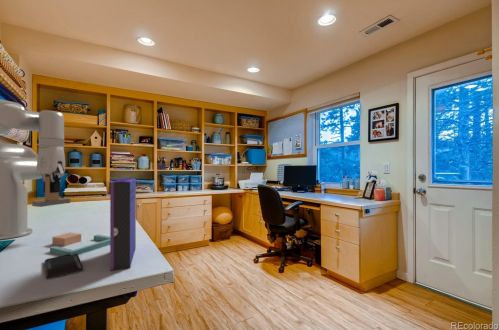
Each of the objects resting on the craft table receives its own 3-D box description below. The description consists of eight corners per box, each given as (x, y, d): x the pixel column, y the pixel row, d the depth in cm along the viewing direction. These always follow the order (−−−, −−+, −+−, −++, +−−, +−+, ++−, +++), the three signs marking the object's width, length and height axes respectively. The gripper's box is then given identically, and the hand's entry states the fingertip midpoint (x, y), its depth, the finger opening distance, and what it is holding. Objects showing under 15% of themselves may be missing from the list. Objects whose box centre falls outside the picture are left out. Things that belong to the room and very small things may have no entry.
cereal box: (120, 249, 81) (120, 178, 81) (135, 247, 83) (135, 178, 83) (110, 270, 65) (110, 181, 65) (129, 268, 67) (130, 181, 67)
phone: (77, 252, 76) (83, 268, 65) (77, 256, 76) (83, 272, 65) (44, 259, 71) (45, 277, 60) (44, 263, 71) (45, 281, 60)
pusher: (40, 206, 86) (40, 177, 86) (32, 206, 88) (32, 177, 88) (70, 202, 95) (70, 176, 95) (62, 202, 97) (62, 175, 97)
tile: (52, 245, 86) (52, 237, 86) (69, 240, 92) (69, 232, 92) (64, 247, 84) (64, 238, 84) (81, 242, 90) (81, 234, 90)
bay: (49, 252, 79) (49, 247, 79) (97, 238, 93) (97, 234, 93) (71, 257, 74) (71, 252, 74) (117, 241, 89) (117, 237, 89)
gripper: (27, 144, 92) (27, 192, 92) (53, 142, 85) (53, 194, 85) (50, 145, 98) (50, 190, 98) (75, 143, 92) (76, 192, 92)
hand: (51, 191), depth 92 cm, fingers closed on pusher, 3 cm apart
